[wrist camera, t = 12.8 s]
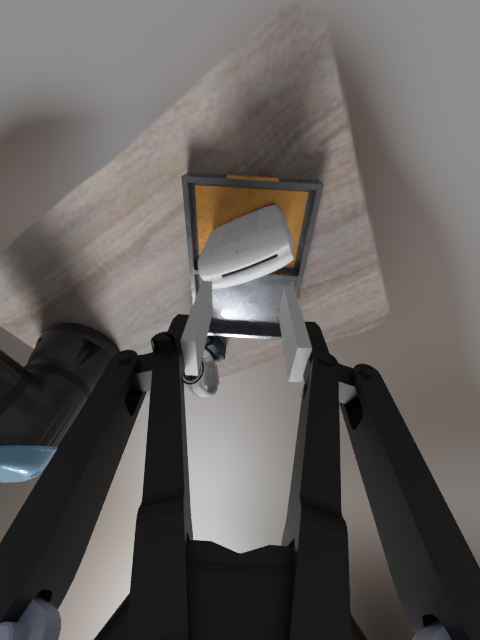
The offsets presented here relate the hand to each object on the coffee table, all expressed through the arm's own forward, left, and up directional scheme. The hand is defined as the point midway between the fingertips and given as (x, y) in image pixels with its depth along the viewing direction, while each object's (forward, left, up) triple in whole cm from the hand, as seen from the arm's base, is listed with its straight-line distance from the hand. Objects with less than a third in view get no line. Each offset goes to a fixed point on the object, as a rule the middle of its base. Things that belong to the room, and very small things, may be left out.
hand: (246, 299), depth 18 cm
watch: (-6, -23, -19) cm, 30 cm away
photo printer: (0, 0, -18) cm, 18 cm away
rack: (0, -6, -19) cm, 20 cm away
